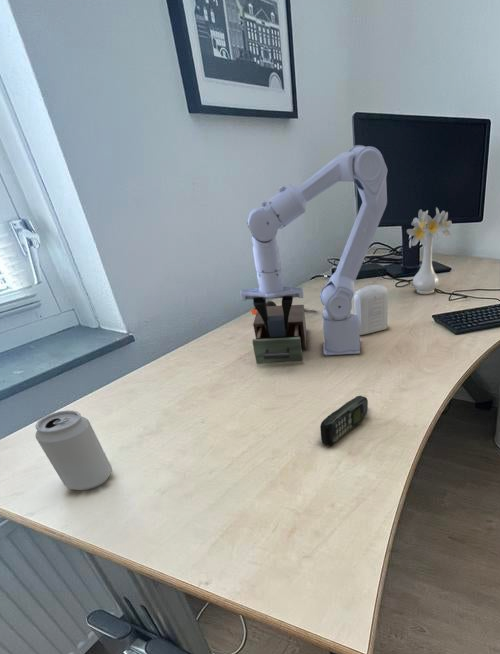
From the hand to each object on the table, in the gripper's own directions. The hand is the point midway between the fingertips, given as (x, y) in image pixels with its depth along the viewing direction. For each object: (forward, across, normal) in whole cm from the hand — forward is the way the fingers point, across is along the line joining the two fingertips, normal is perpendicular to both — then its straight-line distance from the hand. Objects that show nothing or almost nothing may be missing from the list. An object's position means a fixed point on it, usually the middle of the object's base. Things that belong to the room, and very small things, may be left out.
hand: (277, 328), depth 108 cm
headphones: (+8, -2, +29) cm, 30 cm away
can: (+8, -30, -48) cm, 57 cm away
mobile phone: (+8, +15, -37) cm, 40 cm away
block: (+1, 0, 0) cm, 1 cm away
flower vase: (+7, +48, +48) cm, 69 cm away
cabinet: (+7, 0, +10) cm, 12 cm away
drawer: (+6, 0, -2) cm, 7 cm away
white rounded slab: (+8, +25, +14) cm, 30 cm away
